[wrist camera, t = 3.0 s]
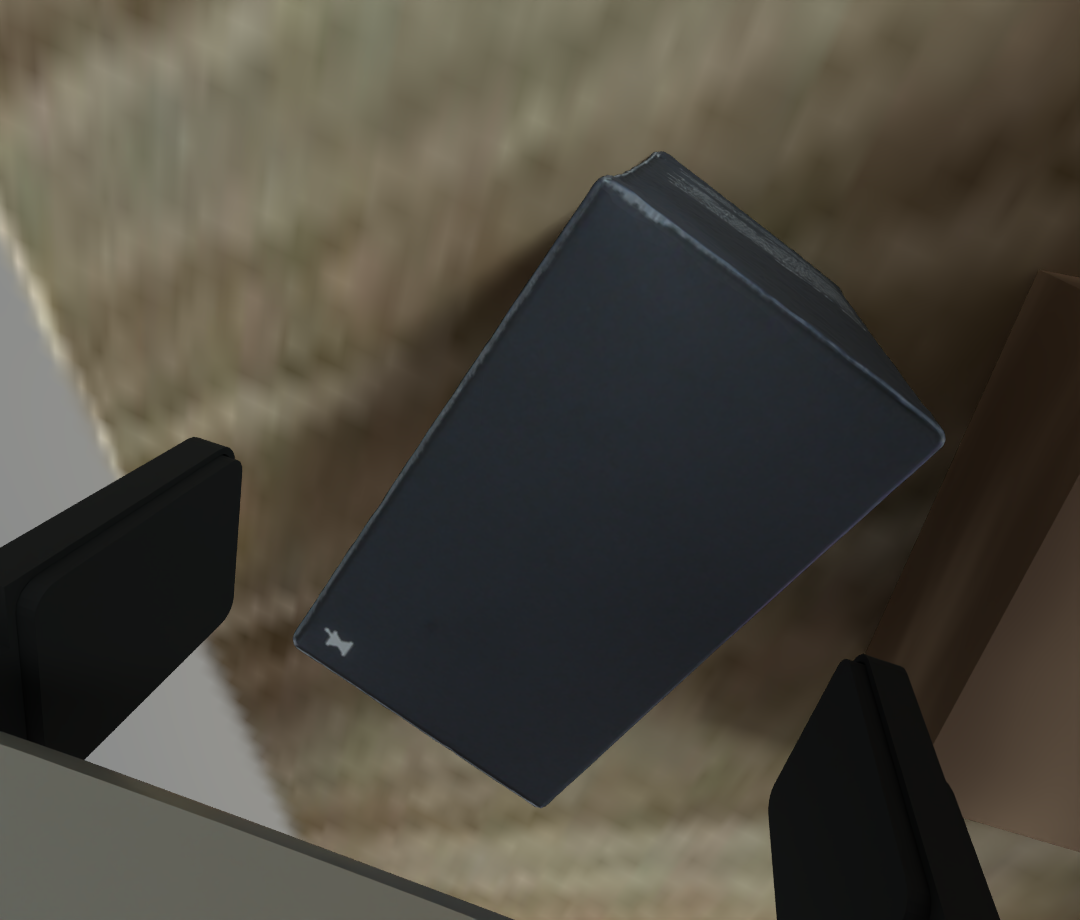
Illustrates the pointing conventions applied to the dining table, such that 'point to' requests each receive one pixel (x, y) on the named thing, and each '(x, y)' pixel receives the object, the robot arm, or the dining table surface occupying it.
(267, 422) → the dining table surface
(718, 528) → the small box
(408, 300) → the dining table surface
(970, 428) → the walnut block
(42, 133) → the dining table surface
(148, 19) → the dining table surface
